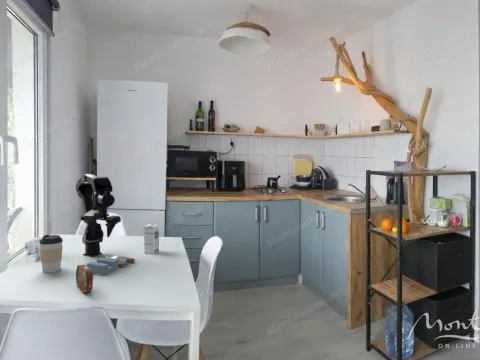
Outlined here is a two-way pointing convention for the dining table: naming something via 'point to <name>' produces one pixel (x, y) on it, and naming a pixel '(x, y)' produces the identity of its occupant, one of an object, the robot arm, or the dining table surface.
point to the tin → (84, 278)
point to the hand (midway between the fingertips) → (100, 236)
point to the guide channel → (131, 260)
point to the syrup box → (151, 238)
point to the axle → (119, 258)
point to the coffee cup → (51, 253)
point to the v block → (103, 266)
